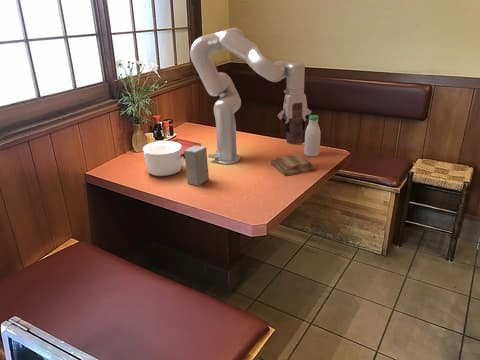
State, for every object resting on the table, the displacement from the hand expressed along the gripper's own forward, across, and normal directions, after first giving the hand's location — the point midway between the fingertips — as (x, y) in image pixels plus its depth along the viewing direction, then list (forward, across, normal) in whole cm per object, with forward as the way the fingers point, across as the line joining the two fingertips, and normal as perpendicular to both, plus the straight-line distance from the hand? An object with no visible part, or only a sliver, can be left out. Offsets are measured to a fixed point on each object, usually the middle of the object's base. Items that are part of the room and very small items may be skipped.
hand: (294, 129), depth 189 cm
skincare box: (+18, -46, +2) cm, 50 cm away
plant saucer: (+19, -46, +43) cm, 66 cm away
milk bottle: (+19, +16, +11) cm, 27 cm away
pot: (+18, -58, +19) cm, 64 cm away
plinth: (+18, 0, 0) cm, 18 cm away
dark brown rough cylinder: (+7, 0, 0) cm, 7 cm away
